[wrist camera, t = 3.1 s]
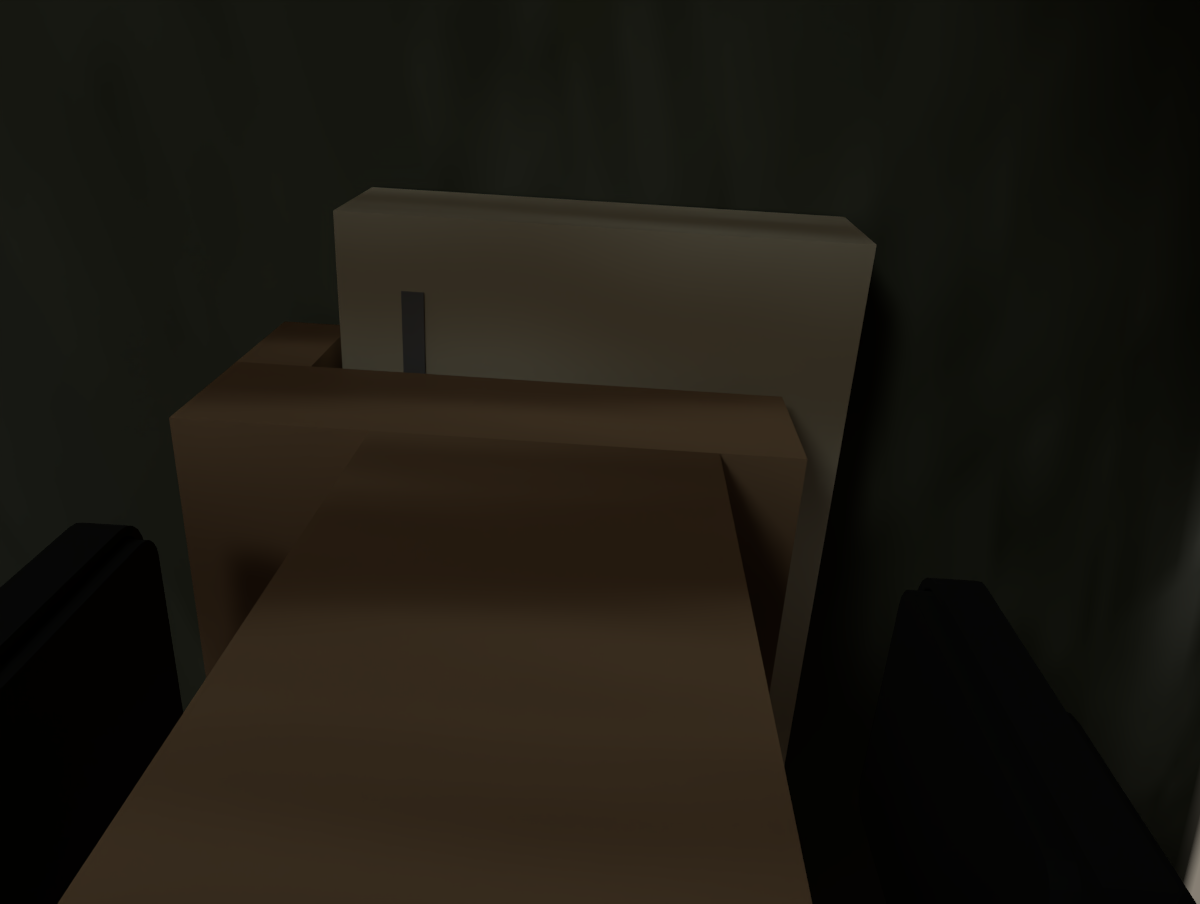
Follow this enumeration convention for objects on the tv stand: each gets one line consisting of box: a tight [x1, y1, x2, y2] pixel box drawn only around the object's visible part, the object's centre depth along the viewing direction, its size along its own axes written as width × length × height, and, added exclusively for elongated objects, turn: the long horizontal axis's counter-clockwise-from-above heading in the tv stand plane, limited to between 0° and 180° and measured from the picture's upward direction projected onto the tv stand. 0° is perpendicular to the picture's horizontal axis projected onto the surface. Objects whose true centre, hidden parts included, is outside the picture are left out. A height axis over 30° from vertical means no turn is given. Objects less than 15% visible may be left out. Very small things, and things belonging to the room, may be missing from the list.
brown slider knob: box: [58, 322, 812, 904], centre depth 10 cm, size 4×7×11 cm, turn 87°
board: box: [333, 187, 876, 765], centre depth 16 cm, size 14×7×2 cm, turn 177°
